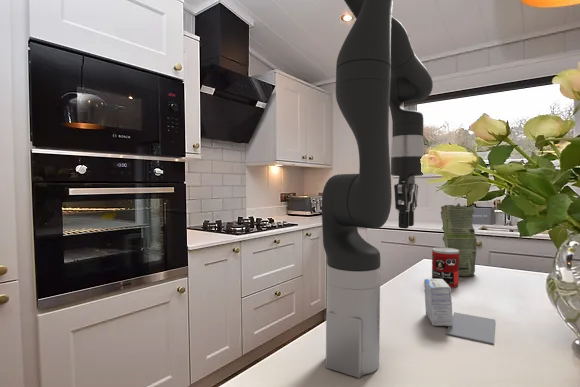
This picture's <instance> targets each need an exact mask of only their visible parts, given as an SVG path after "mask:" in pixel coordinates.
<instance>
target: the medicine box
mask: <svg viewBox="0 0 580 387" xmlns="http://www.w3.org/2000/svg"><path fill="white" fill-rule="evenodd" d="M423 280H424V283H423V284H424V303H425V304H424V305H425V314H426V316H427V317H428V319H429V321H430V323H431V324H432V326H435V327H449V326H453V302H452V287H449V285H448V284H447V283H446V282H445V281H444V280H443V279H432V278H424V279H423Z"/></svg>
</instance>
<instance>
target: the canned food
mask: <svg viewBox="0 0 580 387" xmlns="http://www.w3.org/2000/svg"><path fill="white" fill-rule="evenodd" d="M431 255H432V256H431V257H432V258H431V279H443V280H444V281H445V282H446V283H447V284H448V285H449V287H450V288H456V287H458V286H459V284H460V281H459V280H460V276H459V250H457V249H453V248H445V247H441V246H440V247H434V248H432V251H431Z"/></svg>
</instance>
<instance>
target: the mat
mask: <svg viewBox="0 0 580 387" xmlns="http://www.w3.org/2000/svg"><path fill="white" fill-rule="evenodd" d="M452 316H453V326H447V327H448V328H447V329H446V333H445V335H447V336H452V337H456V338H461V339H464V340H465V339H466V340H470V341H474V342H479V343H483V344H489V345H493V346H494V344H495V330H496V319H494V318H488V317H482V316H478V315H473V314H467V313H460V312H455V311H454V312H453V313H452Z"/></svg>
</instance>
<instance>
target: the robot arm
mask: <svg viewBox="0 0 580 387" xmlns="http://www.w3.org/2000/svg"><path fill="white" fill-rule="evenodd" d="M343 1H344V3H345V4H346V5H347V7H348V9H349V10H350V11H351V13H352V15H353V16H354V18H355V19H356V20H354V23H353V24H352V27H351V28H350V30H349V31H348V34H347V36H346V37H345V39H344V41H343V43H342V46H341V48H340V50H339V52H338V55H337V58H336V65H335V66H336V67H335V99H336V103H337V105H338V108H339V110H340V112H341V114H342V116H343V118H344V119H345V121H346V122H347V125H348V127H349V128H350V130H351V132H352V133H353V136H354V138H355V141H356V144H357V145H356V146H357V149H358V158H359V159H358V160H359V164H358V165H359V167H358V168H359V172H358V173H340V174H339V173H338V174H335V175H332V176H331V177H329V178H328V179H327V181H326V182H325V184H324V186H323V190H322V195H321V225H322V244H323V249H324V252H325V255H326V316H325V318H326V319H325V368H326V369H328V370H329V369H330V370H332V371H336V372H339V373H342V374H346V375H348V376H351V377H355V378H358V379H360V378H361V377H362V376H364V375H369V374H371V373H374V372H376V371H377V370H378V369H379V367H380V346H381V345H380V344H381V342H380V339H381V338H380V329H381V327H380V324H381V323H380V319H381V317H380V314H381V308H380V307H381V306H380V304H381V253H380V251H379V249H378V248H377V247H375V246H374V245H372V244H370V243H369V242H367V241H366V240H365V239H364V238H363V237H362V235H361V234H360V233H359V232H358V231H359V229H358V228H362V229H380V228H381V227H383V226H384V225H385V224H386V223H387V221H388V219H389V216H390V213H391V210H392V209H391V207H392V198H393V197H392V178H391V177H398V181H397V182H398V183H397V184H396V183H395V184H394V185H393V188H394V190H393V191H394V206H395V207H394V208H395V211H396V210H397V212H398V228H400V229H408V228H409V227H413V226H414V225H415V210H416V209H417V207H418V194H419V185H418V184H417V183H416V179H415V177H421V176H423V175H424V174H423V173H422V172H421V163H420V159H421V157H422V156H423V155H424V156H425V143H424V142H425V141H424V115H423V113H422V112H421V111H418V110H411V109H410V110H409V109H405V107H404V103H412V102H418V101H424V100H425V99H427V98H429V96H431V94H432V91H433V89H434V88H433V85H434V84H433V83H434V82H433V78H432V76H431V73H430V71H429V70H428V69H427V68H426V66H425V64H424V63H422V61H421V60H420V59H419V58H418V56H417V54H415V51H414V48H413V45H412V42H411V39H410V36H409V34H408V31H407V30H406V28H405V27H404V26H403V24H402V22H400V21H399V20H398V19H397V18H396V17H394V16H393V15H392V14H393V3H394V0H343ZM390 115H391V119H392V120H391V121H392V122H391V124H392V128H391V129H392V130H391V131H392V133H391V134H392V137H391V138H392V139H391V147H390V142H389V141H390V139H389V138H390V137H389V136H390V135H389V130H390V129H389V125H390V122H389V120H390V118H389V116H390Z"/></svg>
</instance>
